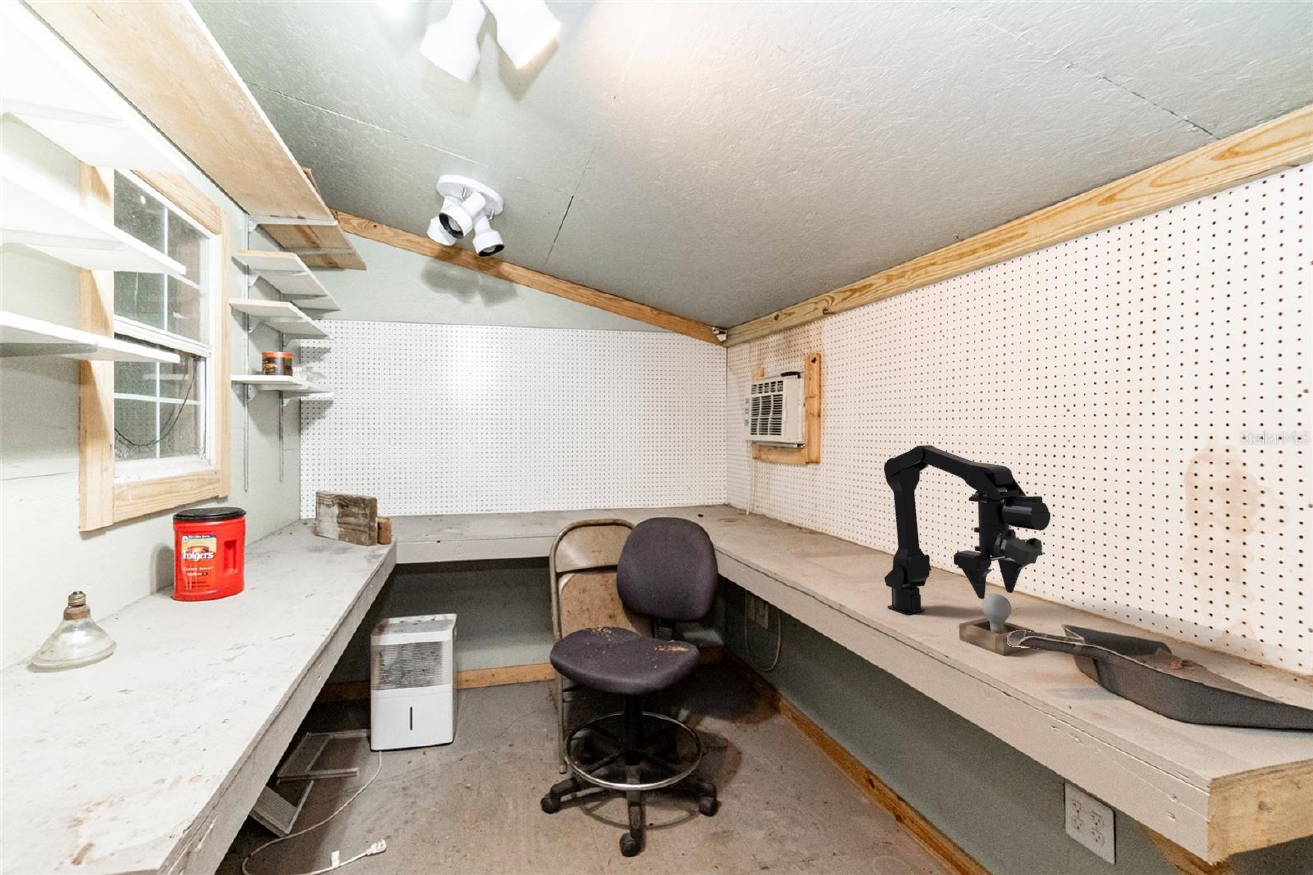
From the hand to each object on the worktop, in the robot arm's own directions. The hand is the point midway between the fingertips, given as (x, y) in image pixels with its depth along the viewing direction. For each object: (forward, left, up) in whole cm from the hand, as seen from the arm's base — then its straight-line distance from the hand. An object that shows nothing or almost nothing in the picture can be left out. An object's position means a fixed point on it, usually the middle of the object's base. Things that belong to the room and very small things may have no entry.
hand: (995, 595), depth 118 cm
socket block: (0, 0, -10) cm, 10 cm away
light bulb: (0, 0, -10) cm, 10 cm away
